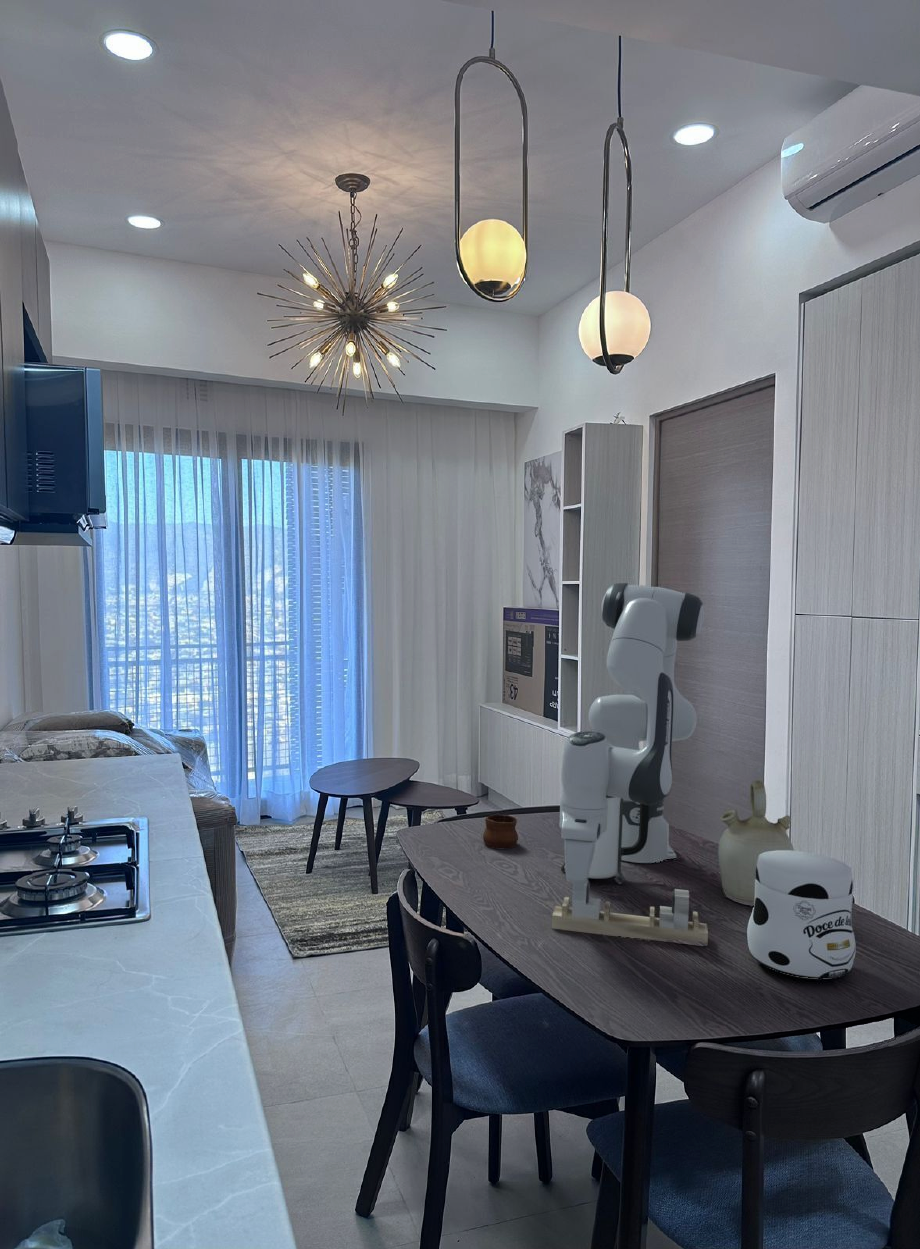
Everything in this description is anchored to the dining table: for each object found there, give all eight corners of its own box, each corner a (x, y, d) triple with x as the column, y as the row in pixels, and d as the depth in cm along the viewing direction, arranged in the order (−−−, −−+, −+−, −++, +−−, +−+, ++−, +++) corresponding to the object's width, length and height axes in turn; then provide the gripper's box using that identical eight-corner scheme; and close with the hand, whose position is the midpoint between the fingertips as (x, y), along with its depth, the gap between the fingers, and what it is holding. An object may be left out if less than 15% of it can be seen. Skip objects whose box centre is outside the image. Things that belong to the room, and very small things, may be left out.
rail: (555, 918, 167) (556, 875, 167) (705, 936, 161) (708, 891, 160) (551, 928, 162) (553, 883, 162) (707, 947, 156) (709, 900, 156)
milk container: (848, 999, 137) (854, 886, 137) (736, 972, 146) (741, 866, 145) (858, 961, 152) (863, 859, 152) (756, 938, 161) (760, 842, 160)
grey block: (573, 908, 166) (574, 877, 165) (600, 912, 165) (601, 880, 164) (571, 916, 162) (572, 884, 162) (598, 919, 161) (600, 887, 160)
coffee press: (611, 895, 182) (617, 752, 181) (546, 877, 191) (551, 742, 190) (647, 875, 195) (653, 743, 194) (584, 860, 205) (589, 734, 204)
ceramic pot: (459, 834, 224) (460, 807, 223) (526, 835, 227) (527, 808, 226) (471, 857, 206) (473, 828, 206) (543, 857, 209) (545, 828, 208)
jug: (709, 902, 180) (714, 782, 179) (723, 881, 193) (729, 770, 193) (787, 917, 173) (793, 792, 172) (796, 894, 186) (802, 779, 185)
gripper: (571, 805, 174) (569, 873, 174) (560, 831, 154) (557, 908, 154) (603, 807, 172) (600, 876, 173) (596, 834, 152) (592, 912, 153)
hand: (580, 892), depth 163 cm, fingers open, 6 cm apart
